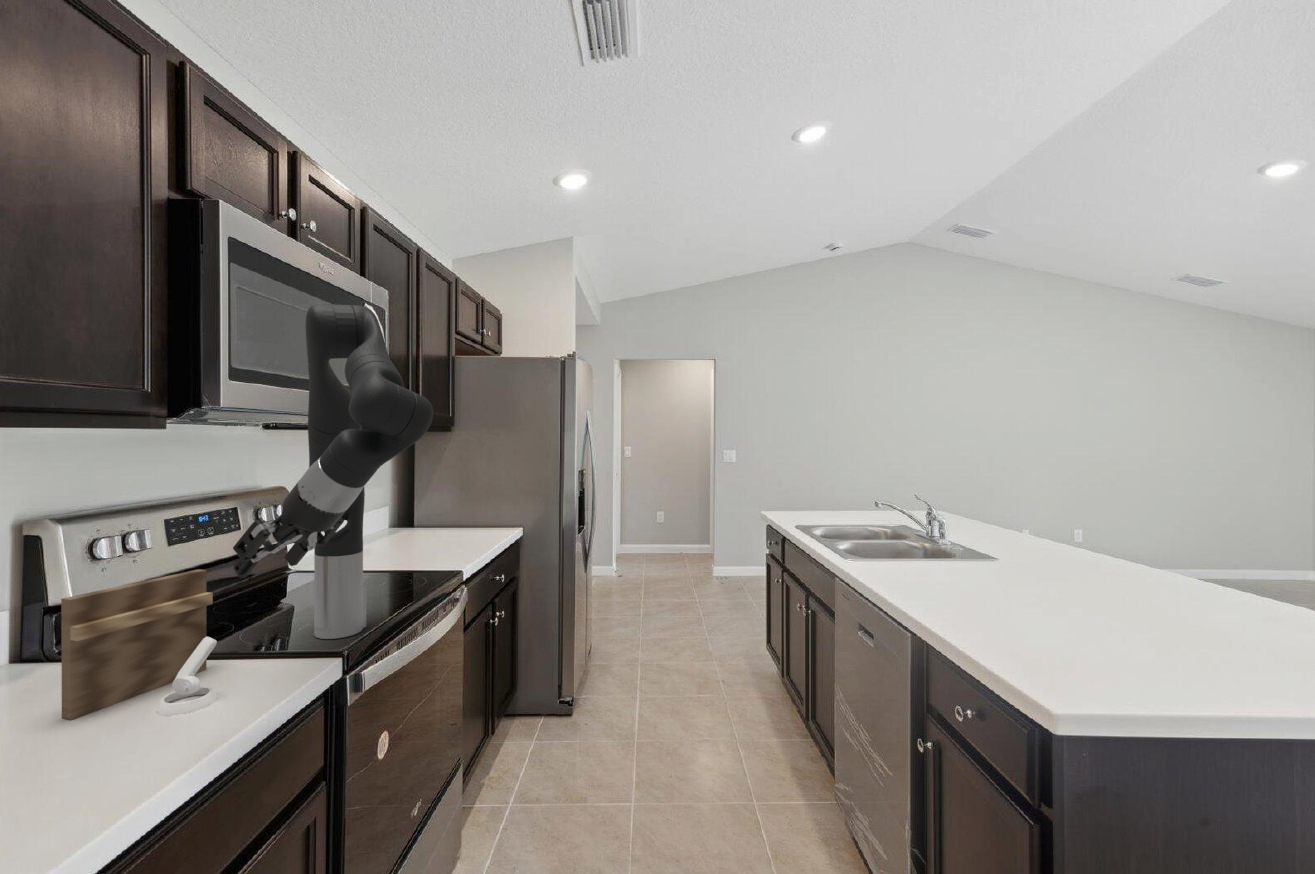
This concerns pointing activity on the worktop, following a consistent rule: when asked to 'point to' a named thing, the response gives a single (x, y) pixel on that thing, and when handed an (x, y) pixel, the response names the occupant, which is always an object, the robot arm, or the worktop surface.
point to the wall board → (129, 639)
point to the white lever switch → (189, 684)
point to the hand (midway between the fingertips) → (265, 567)
